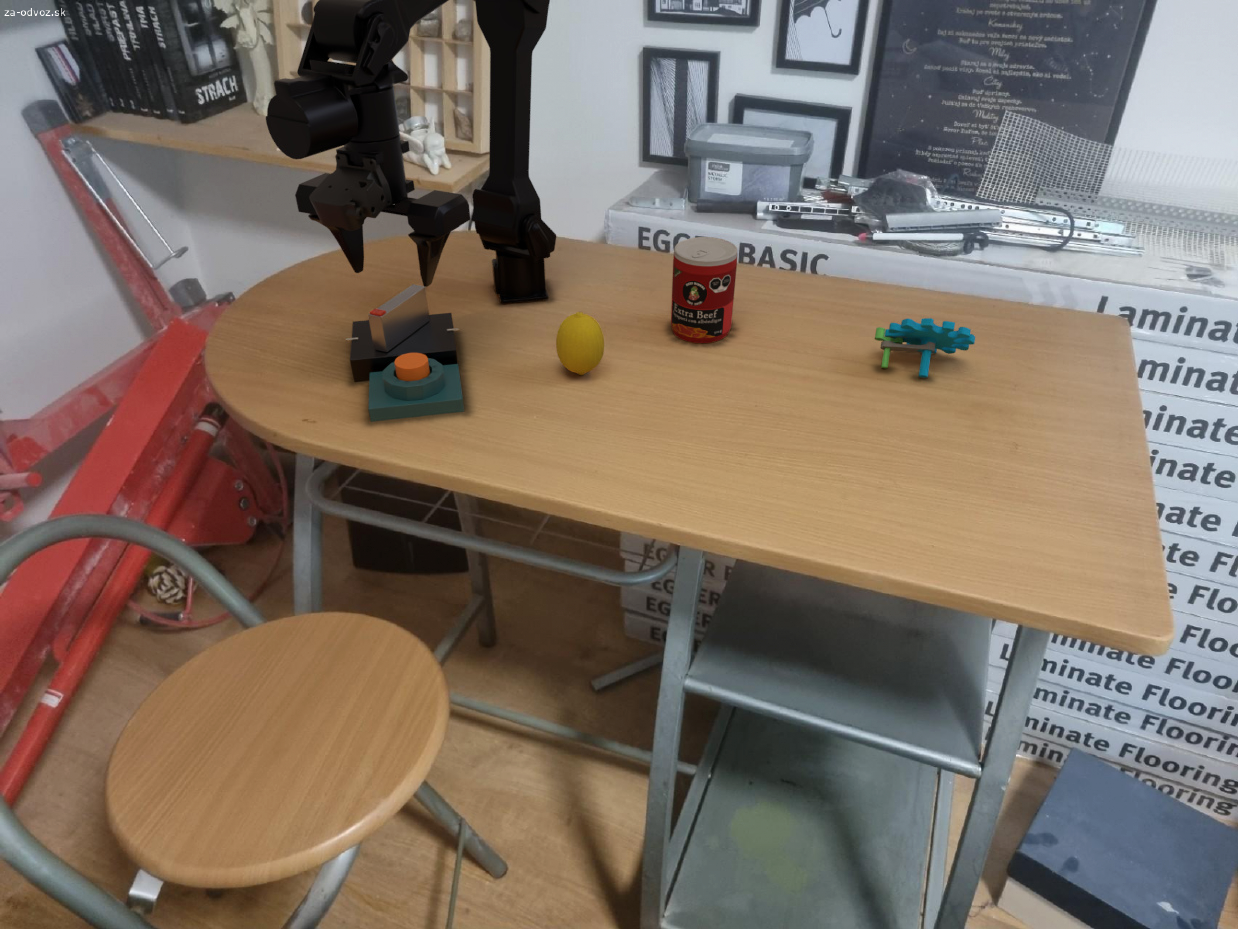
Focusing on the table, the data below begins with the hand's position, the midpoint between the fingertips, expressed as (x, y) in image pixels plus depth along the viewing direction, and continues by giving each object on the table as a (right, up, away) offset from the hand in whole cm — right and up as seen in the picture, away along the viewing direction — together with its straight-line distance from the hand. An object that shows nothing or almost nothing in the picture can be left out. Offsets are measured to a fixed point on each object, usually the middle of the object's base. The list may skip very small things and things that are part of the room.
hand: (392, 278), depth 98 cm
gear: (+61, -9, +7) cm, 62 cm away
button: (+3, -11, -2) cm, 11 cm away
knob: (0, -5, +6) cm, 8 cm away
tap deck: (0, -8, +8) cm, 11 cm away
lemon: (+21, -10, +5) cm, 24 cm away
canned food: (+36, -4, +14) cm, 39 cm away
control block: (+3, -13, 0) cm, 14 cm away
